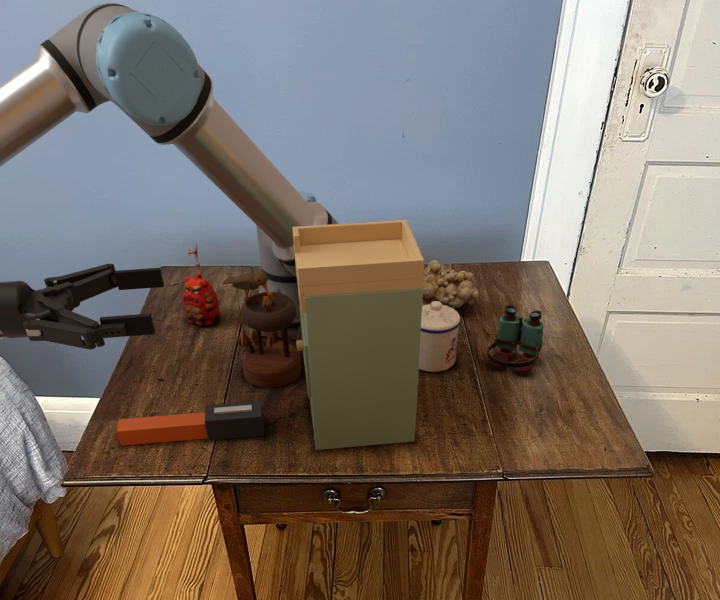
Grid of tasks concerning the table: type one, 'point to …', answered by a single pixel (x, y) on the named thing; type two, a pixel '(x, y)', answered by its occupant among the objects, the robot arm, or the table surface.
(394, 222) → the drawer stand
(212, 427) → the bar
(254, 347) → the music box
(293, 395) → the table surface
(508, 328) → the binoculars
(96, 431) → the table surface
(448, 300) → the mineral formation
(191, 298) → the red clay folk toy
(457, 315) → the teacup with lid
